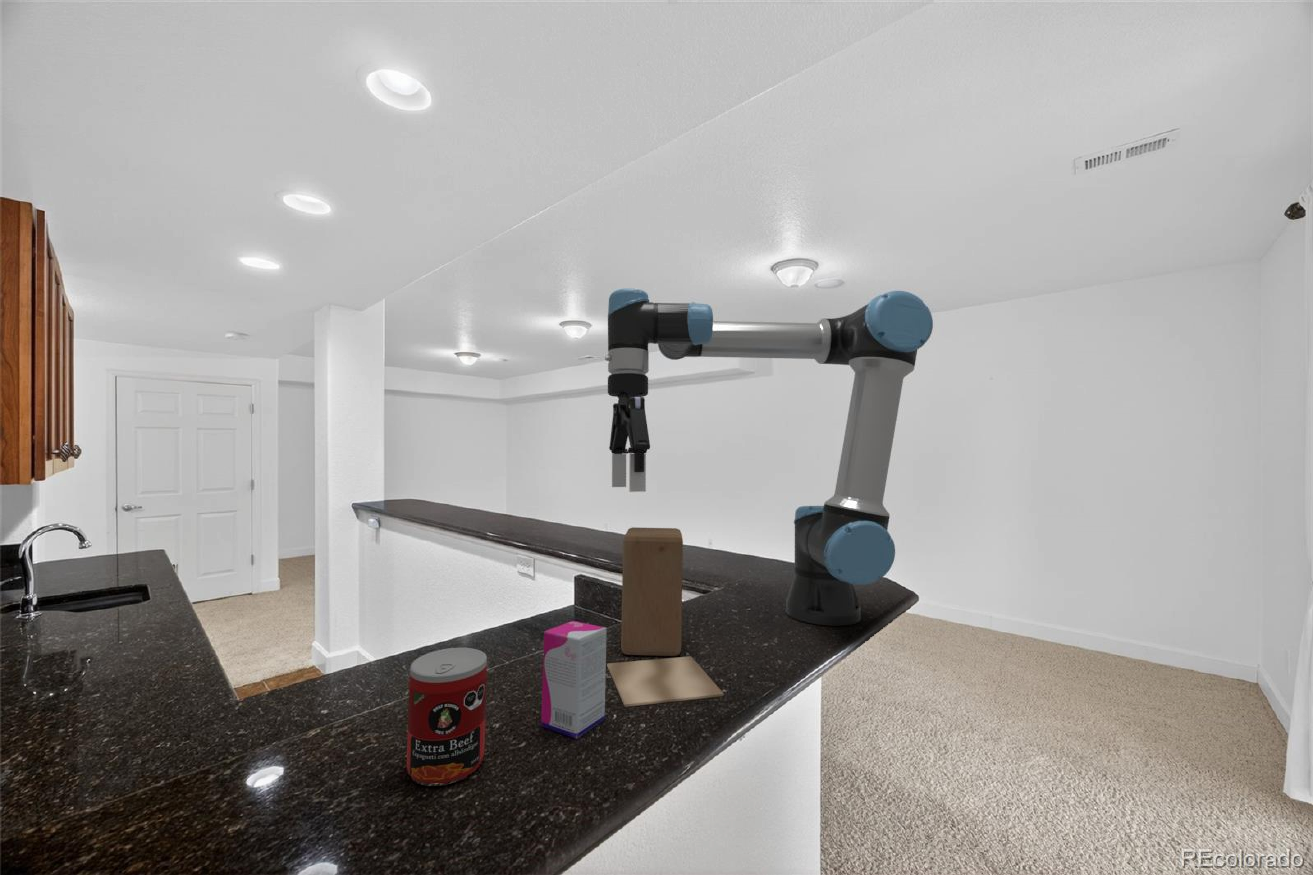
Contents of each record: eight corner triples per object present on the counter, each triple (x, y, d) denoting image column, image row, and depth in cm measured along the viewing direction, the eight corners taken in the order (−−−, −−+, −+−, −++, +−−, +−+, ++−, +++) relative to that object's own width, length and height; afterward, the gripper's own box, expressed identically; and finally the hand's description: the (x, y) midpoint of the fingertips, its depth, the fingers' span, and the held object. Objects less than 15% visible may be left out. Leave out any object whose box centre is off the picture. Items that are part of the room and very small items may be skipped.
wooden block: (681, 658, 86) (683, 535, 87) (620, 657, 87) (622, 534, 87) (679, 637, 96) (681, 527, 97) (625, 636, 97) (627, 526, 97)
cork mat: (691, 658, 87) (691, 656, 87) (723, 696, 73) (723, 693, 73) (606, 665, 83) (606, 663, 83) (624, 706, 69) (624, 704, 69)
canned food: (399, 795, 51) (403, 679, 51) (413, 750, 58) (416, 650, 59) (483, 782, 53) (486, 671, 53) (485, 741, 61) (488, 644, 61)
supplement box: (606, 718, 66) (608, 626, 67) (576, 740, 61) (578, 640, 62) (570, 707, 69) (572, 618, 70) (539, 726, 64) (541, 631, 64)
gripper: (595, 382, 109) (594, 485, 108) (624, 362, 85) (624, 494, 84) (630, 384, 111) (630, 485, 110) (668, 364, 87) (668, 493, 87)
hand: (627, 489), depth 97 cm, fingers open, 13 cm apart
